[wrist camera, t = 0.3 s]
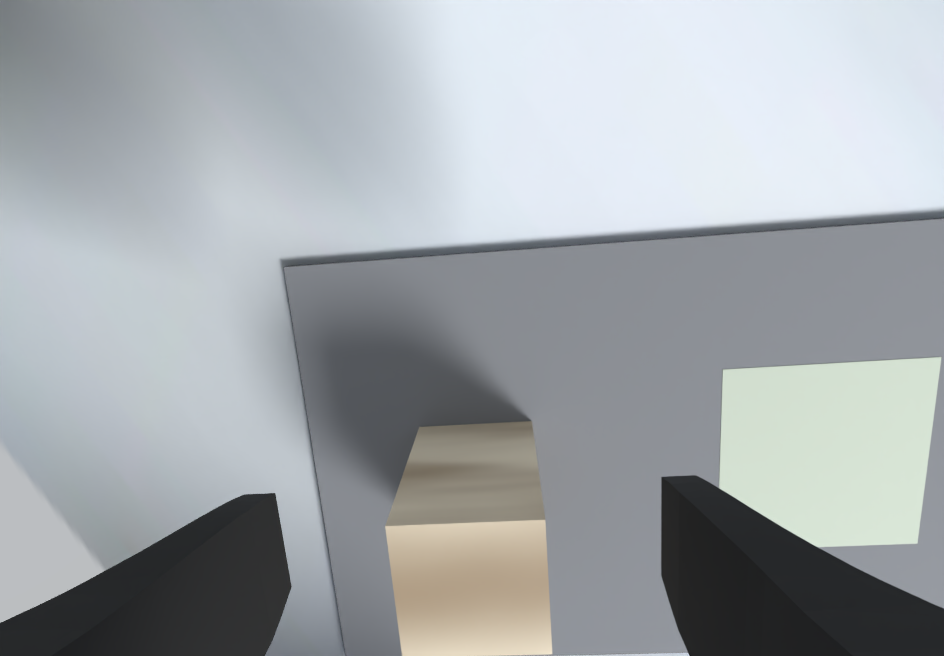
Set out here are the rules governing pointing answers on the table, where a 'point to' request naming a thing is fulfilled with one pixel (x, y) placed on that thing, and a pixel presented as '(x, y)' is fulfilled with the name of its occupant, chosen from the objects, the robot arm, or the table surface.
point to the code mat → (639, 403)
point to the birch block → (471, 544)
